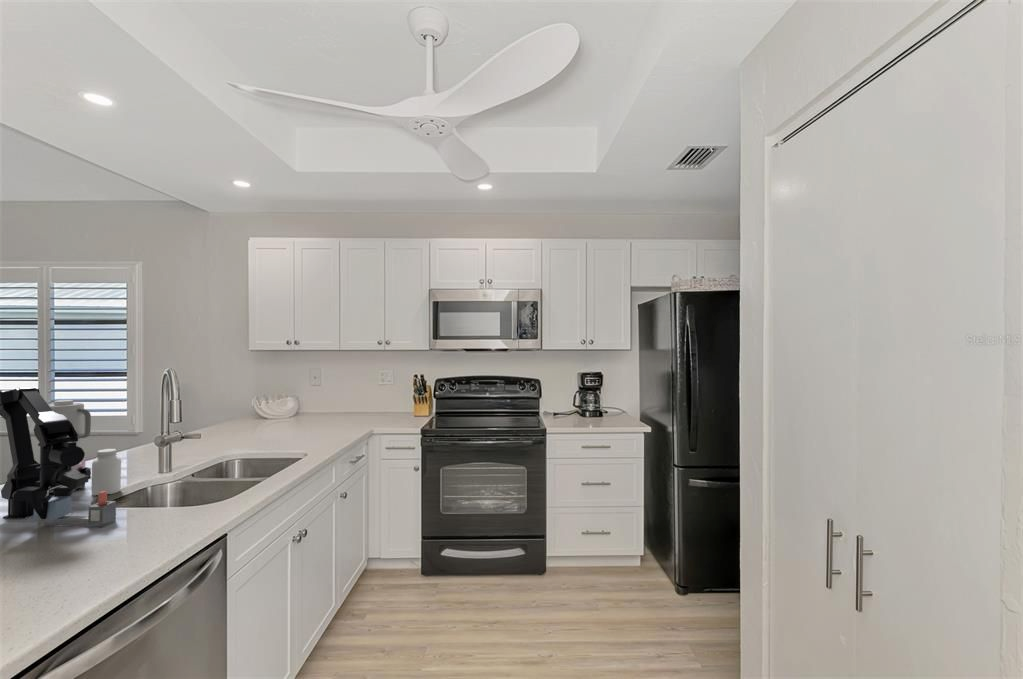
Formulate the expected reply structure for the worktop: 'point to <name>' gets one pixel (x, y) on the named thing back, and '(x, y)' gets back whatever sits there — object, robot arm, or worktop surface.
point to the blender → (75, 423)
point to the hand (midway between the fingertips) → (52, 515)
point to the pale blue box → (56, 508)
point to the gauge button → (102, 498)
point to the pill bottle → (106, 472)
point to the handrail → (68, 521)
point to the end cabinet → (101, 514)
